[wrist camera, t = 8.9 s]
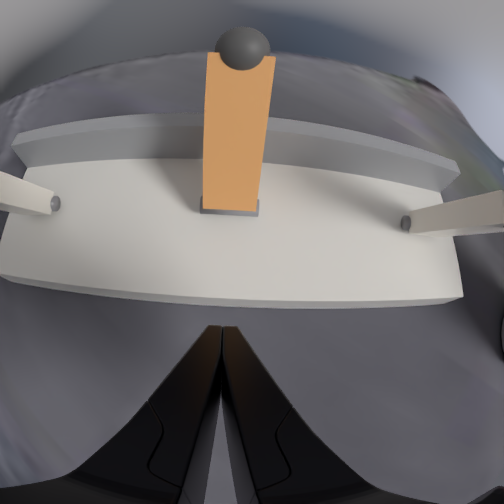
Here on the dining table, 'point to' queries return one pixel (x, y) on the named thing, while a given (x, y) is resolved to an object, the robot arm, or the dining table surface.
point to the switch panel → (230, 218)
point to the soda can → (502, 335)
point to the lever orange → (236, 122)
